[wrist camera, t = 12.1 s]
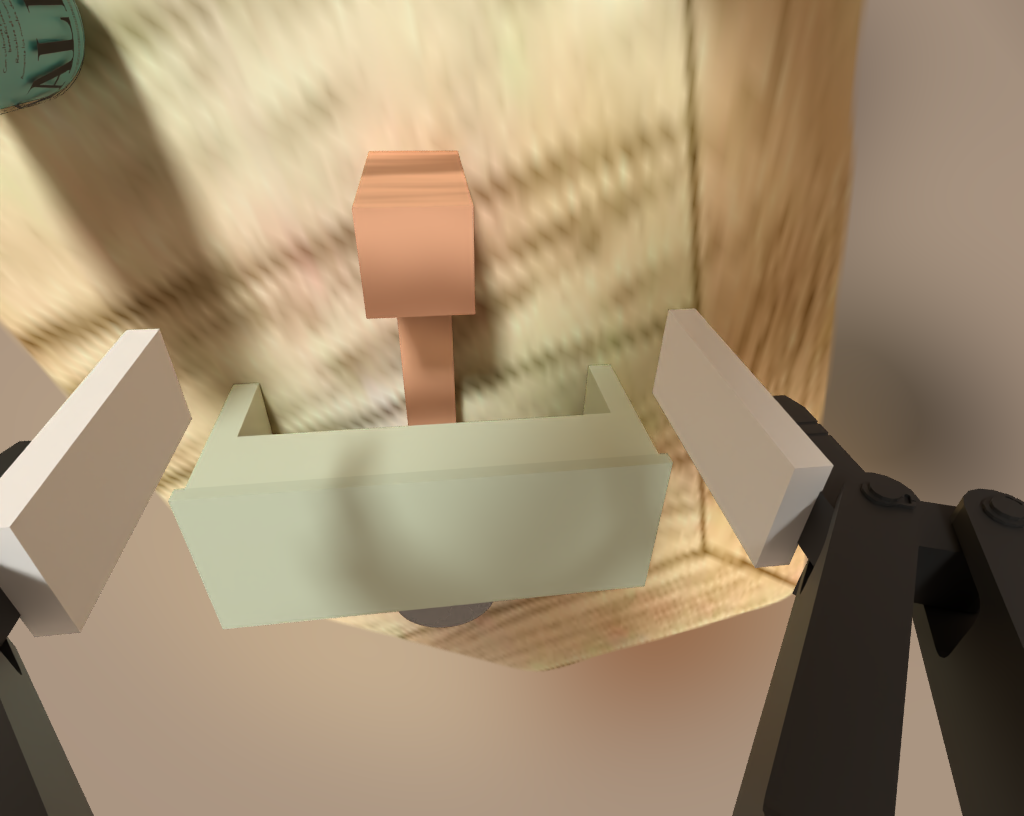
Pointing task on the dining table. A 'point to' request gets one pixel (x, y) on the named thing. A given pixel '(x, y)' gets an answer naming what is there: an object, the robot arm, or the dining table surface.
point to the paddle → (418, 266)
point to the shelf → (420, 510)
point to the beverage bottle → (38, 49)
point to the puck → (446, 614)
